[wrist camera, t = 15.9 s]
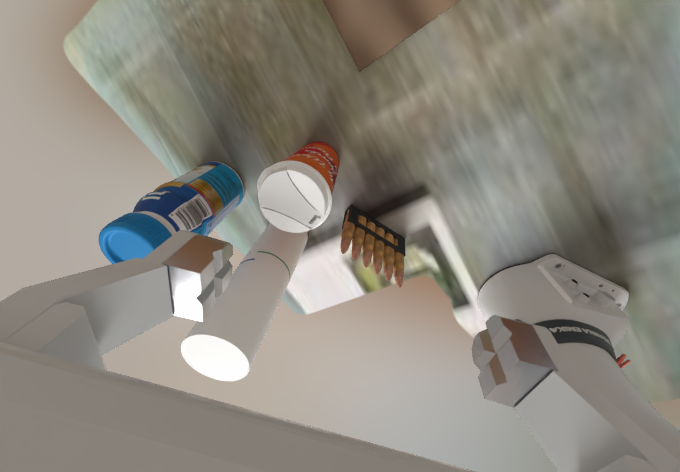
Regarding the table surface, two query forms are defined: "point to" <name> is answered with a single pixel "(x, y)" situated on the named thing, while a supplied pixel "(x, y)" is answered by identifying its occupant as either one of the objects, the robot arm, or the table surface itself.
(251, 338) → the cylindrical container
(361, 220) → the ammunition clip
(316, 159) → the coffee cup
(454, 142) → the table surface
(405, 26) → the brown rippled cloth
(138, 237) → the beverage bottle
